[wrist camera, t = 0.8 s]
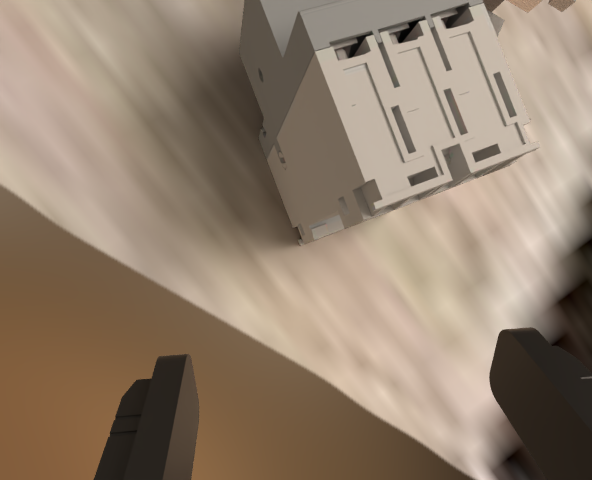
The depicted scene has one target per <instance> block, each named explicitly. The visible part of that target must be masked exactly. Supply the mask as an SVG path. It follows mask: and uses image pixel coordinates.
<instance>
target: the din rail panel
mask: <svg viewBox="0 0 592 480" xmlns="http://www.w3.org/2000/svg"><path fill="white" fill-rule="evenodd" d="M503 1H504V0H483V3H484V5H485V7H486V10H488V11H490V12H492V11H493V10H494V9H495V8H497V7H498V6H499V5H500V4H501V3H502V2H503ZM575 1H576V0H549V3H548V4H549V5H551V6H553V7H554V8H556V9H558V10H559V11H561V12H563V11H564V10H565V9H567V8H568V7H569V6H570V5H572V4H573V3H574V2H575Z"/></svg>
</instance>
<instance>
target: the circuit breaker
mask: <svg viewBox="0 0 592 480" xmlns="http://www.w3.org/2000/svg"><path fill="white" fill-rule="evenodd" d="M239 54H240V57H241V59H242V62H243V65H244V67H245V70H246V72H247V75H248V78H249V80H250V83H251V86H252V88H253V91H254V93H255V96H256V99H257V101H258V104H259V107H260V109H261V112H262V114H263V117H264V120H263V124H262V125H263V127H264V128H261V130H260V134H259V137H258V138H259V141H260V144H261V146H262V149H263V151H264V154H265V157H266V159H267V162H268V164H269V167H270V170H271V172H272V175H273V177H274V180H275V183H276V185H277V188H278V191H279V193H280V196H281V198H282V201H283V204H284V206H285V209H286V211H287V214H288V217H289V219H290V222H291V224H292V227H293V228H295V227H298V229H299V232H300V235H301V237H302V239H299V240H298V243H299V245H300V246H301V245H304V244H306V243H309V242H311V241H314V240H317V239H319V238H322V237H325V236H327V235H330V234H332V233H335V232H338V231H340V230H343V229H346V228H348V227H351V226H354V225H356V224H359V223H361V222H364V221H367V220H369V219H372V218H374V217H377V216H380V215H382V214H385V213H387V212H390V211H393V210H395V209H398V208H401V207H403V206H406V205H408V204H411V203H414V202H416V201H419V200H421V199H424V198H427V197H429V196H432V195H434V194H437V193H440V192H442V191H445V190H448V189H450V188H453V187H455V186H458V185H461V184H463V183H466V182H468V181H471V180H474V179H476V178H479V177H481V176H484V175H486V174H489V173H492V172H494V171H497V170H500V169H502V168H505V167H507V166H510V165H511V164H513V163H514V162H516V160H517V159H518V158H520V157H522V156H523V155H525V154H527V153H529V152H532V151H534V150H536V149H538V148H539V147H540V144H539V142H538V141H537V142H534V143H531V144H530V141H529V139H528V136H527V134H526V131H525V129H524V125H526V124H528V123H530V122H531V121H530V119H529V116H528V114H527V111H526V109H525V106H524V104H523V101H522V98H521V96H520V93H519V91H518V88H517V86H516V83H515V81H514V78H513V76H512V73H511V71H510V68H509V65H508V63H507V60H506V58H505V55H504V53H503V50H502V48H501V45H500V43H499V40H498V38H497V35H496V32H495V30H494V27H493V25H492V22H491V20H490V17H489V15H488V12H487V10H486V7H485V5H484V3H483V0H245V2H244V11H243V20H242V29H241V38H240V47H239Z"/></svg>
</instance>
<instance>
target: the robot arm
mask: <svg viewBox="0 0 592 480" xmlns="http://www.w3.org/2000/svg"><path fill="white" fill-rule="evenodd" d="M489 378H490V386H491V390H492V393H493V395H494V397H495V399H496V401H497V402H498V404H499V405H500V407H501V408H502V410H503V412H504V413H505V415H506V416H507V418H508V419H509V421H510V423H511V424H512V426H513V427H514V429H515V431H516V432H517V434H518V435H519V437H520V438H521V440H522V442H523V443H524V445H525V446H526V448H527V449H528V451H529V453H530V454H531V456H532V457H533V459H534V460H535V462H536V464H537V465H538V467H539V468H540V470H541V471H542V473H543V475H544V476H545V478H546V479H547V480H592V373H591V372H590V371H589V370H588V369H587V368H586V367H585V366H584V365H583V364H582V363H581V362H580V361H579V360H578V359H577V358H575V357H574V356H572V355H571V354H569V353H568V352H566V351H564V350H563V349H561V348H560V347H558V346H551V345H550V344H549V342H548V341H547V340H546V339H545V338H544V337H543V336H542V335H541V334H540V333H539V332H538V331H537V330H536V329H535V328H518V329H506V330H502V331H501V332H500V333H499V336H498V340H497V344H496V348H495V353H494V357H493V361H492V366H491V370H490V377H489ZM198 423H199V401H198V394H197V389H196V383H195V377H194V372H193V366H192V360H191V356H190V355H189V354H184V355H170V356H159V357H158V359H157V362H156V365H155V368H154V372H153V376H152V379H141V380H136V381H135V382H134V384H133V385H132V386H131V387H130V388H129V390H128V391H127V392H126V393H125V395H124V396H123V397H122V399H121V402H120V405H119V408H118V411H117V414H116V419H115V420H114V422H113V425H112V428H111V431H110V437H108V440H107V443H106V446H105V448H104V451H103V454H102V457H101V460H100V463H99V466H98V469H97V472H96V475H95V478H94V480H191V476H192V468H193V461H194V454H195V446H196V439H197V431H198Z"/></svg>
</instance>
